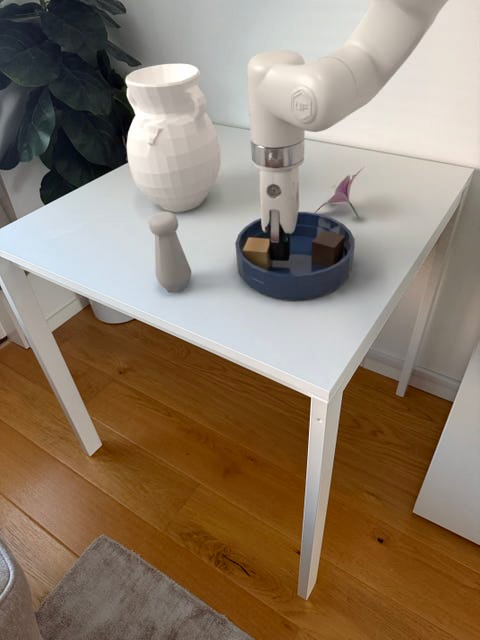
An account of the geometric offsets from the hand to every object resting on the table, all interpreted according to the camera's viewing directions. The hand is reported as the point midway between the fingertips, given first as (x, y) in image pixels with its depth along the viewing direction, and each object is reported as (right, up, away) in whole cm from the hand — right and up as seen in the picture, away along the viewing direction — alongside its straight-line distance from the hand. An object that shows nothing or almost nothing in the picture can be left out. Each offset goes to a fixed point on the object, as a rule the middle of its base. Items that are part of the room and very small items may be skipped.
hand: (280, 257), depth 80 cm
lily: (+13, +10, +13) cm, 21 cm away
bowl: (+2, -1, +1) cm, 3 cm away
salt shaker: (-17, -5, 0) cm, 18 cm away
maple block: (-4, -1, +1) cm, 4 cm away
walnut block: (+8, 0, +1) cm, 8 cm away
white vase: (-19, +15, +22) cm, 33 cm away
